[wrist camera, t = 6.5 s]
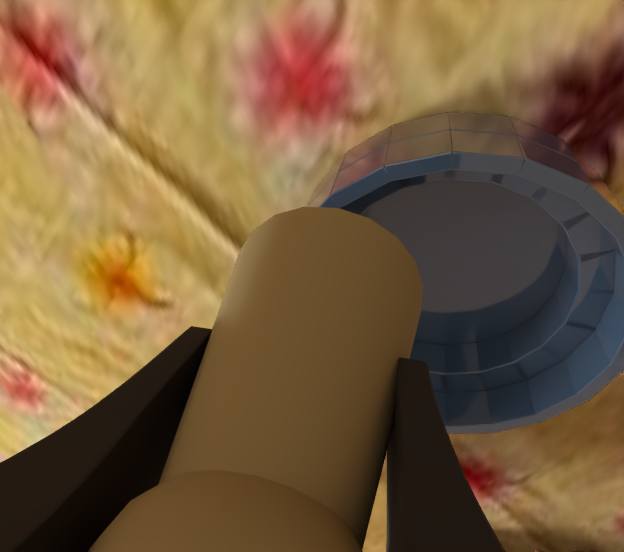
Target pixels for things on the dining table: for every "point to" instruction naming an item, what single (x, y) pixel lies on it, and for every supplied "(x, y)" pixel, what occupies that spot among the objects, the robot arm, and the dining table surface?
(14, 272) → the dining table surface
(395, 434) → the robot arm
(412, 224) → the bowl
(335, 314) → the cork
